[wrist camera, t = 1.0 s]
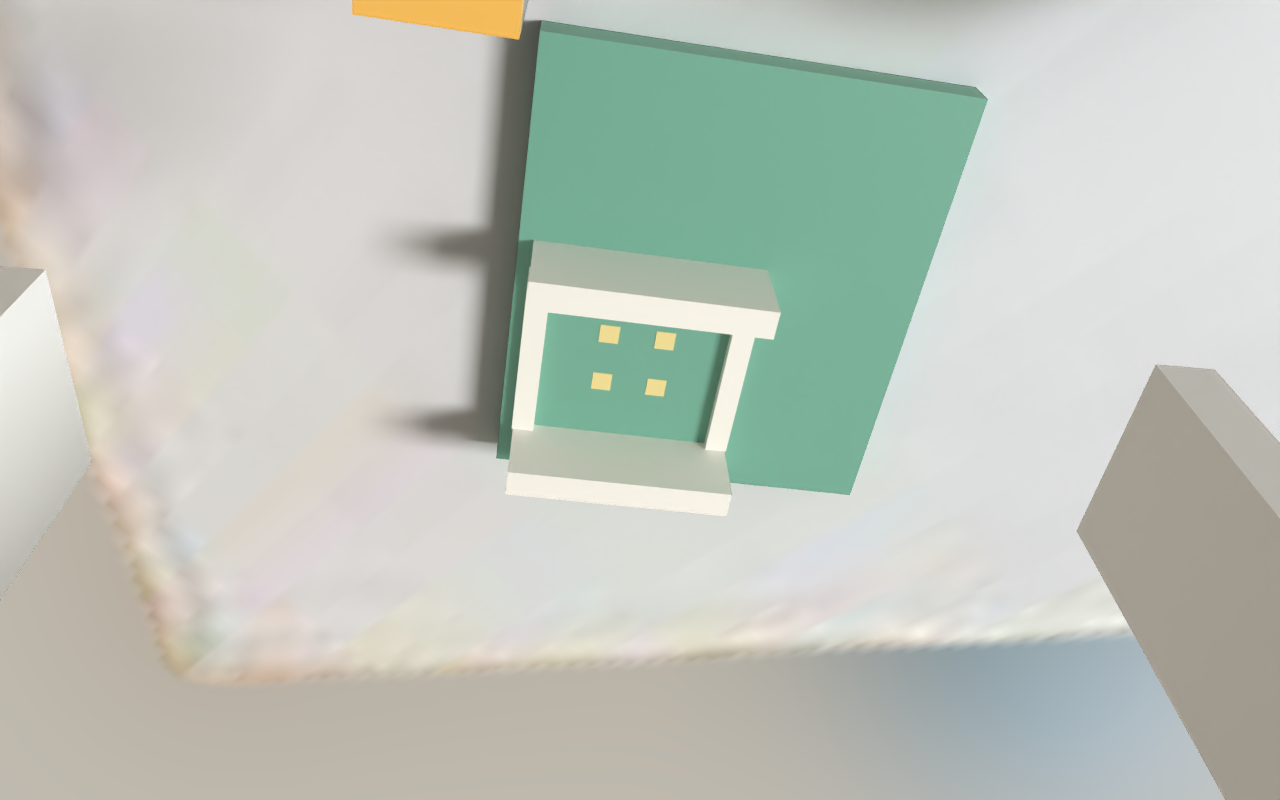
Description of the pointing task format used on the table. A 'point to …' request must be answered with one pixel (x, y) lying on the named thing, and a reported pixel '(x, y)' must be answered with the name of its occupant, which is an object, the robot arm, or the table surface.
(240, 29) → the table surface
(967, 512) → the table surface
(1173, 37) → the table surface
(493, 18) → the plug
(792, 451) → the board
